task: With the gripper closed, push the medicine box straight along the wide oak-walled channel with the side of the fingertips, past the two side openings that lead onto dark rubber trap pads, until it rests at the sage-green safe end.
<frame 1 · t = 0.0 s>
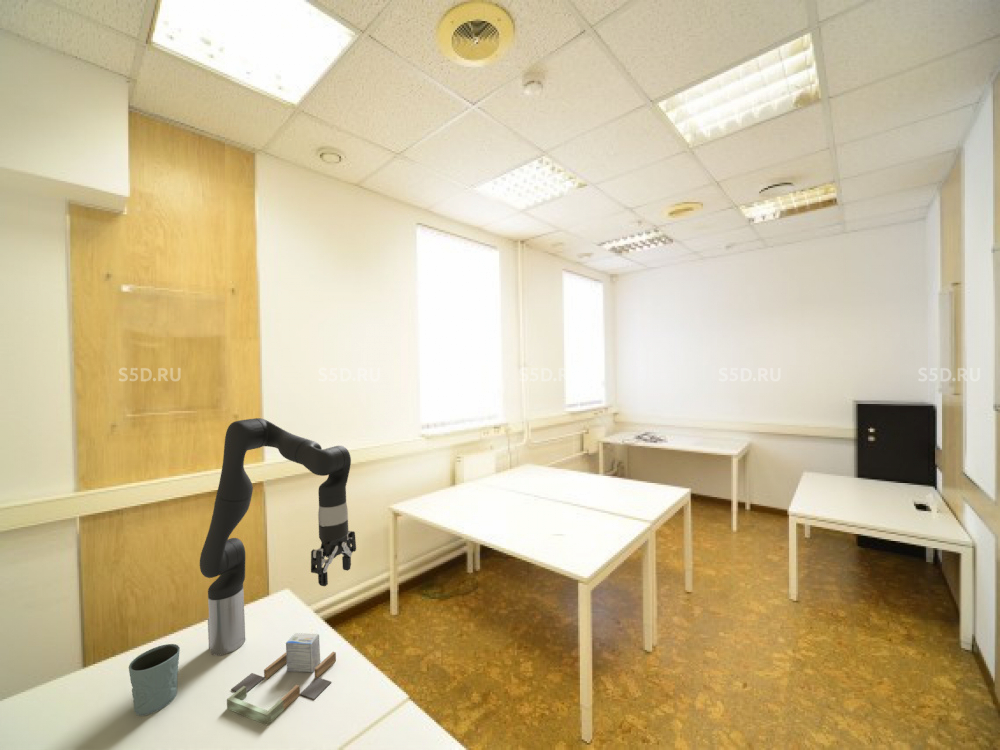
hand: (335, 577, 109), 29 cm above the table, fingers open, 8 cm apart
medicine box: (304, 667, 115), on the table
trap channel: (286, 682, 109), on the table
blue-grey vase: (156, 701, 104), on the table
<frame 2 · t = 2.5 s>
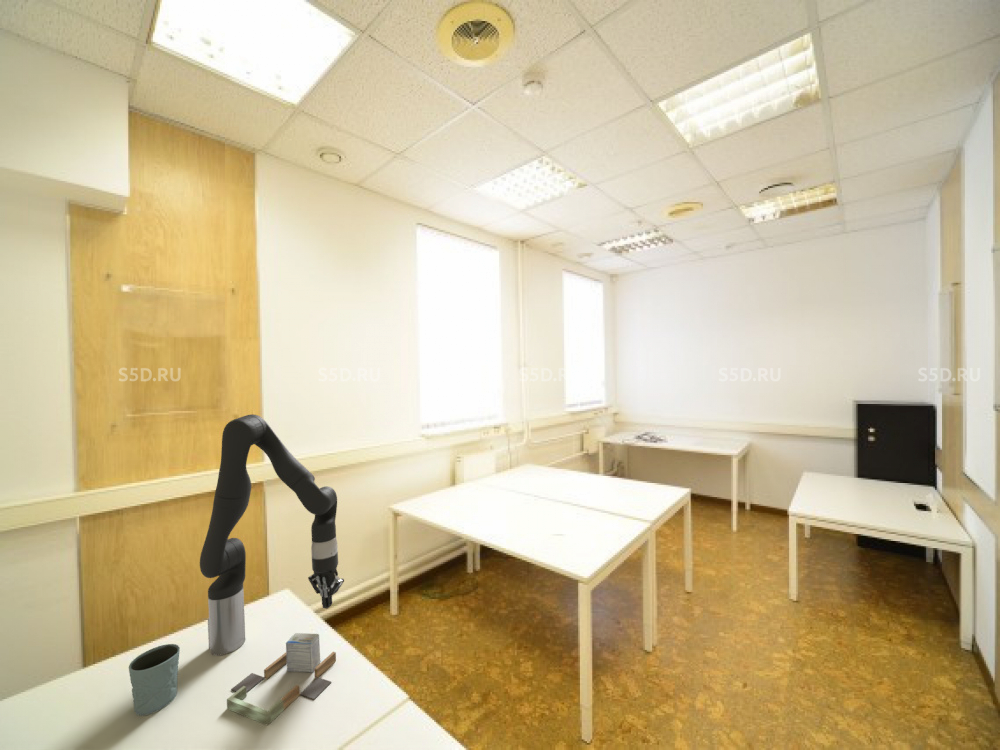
hand: (327, 606, 123), 12 cm above the table, fingers closed
nothing on the table moved.
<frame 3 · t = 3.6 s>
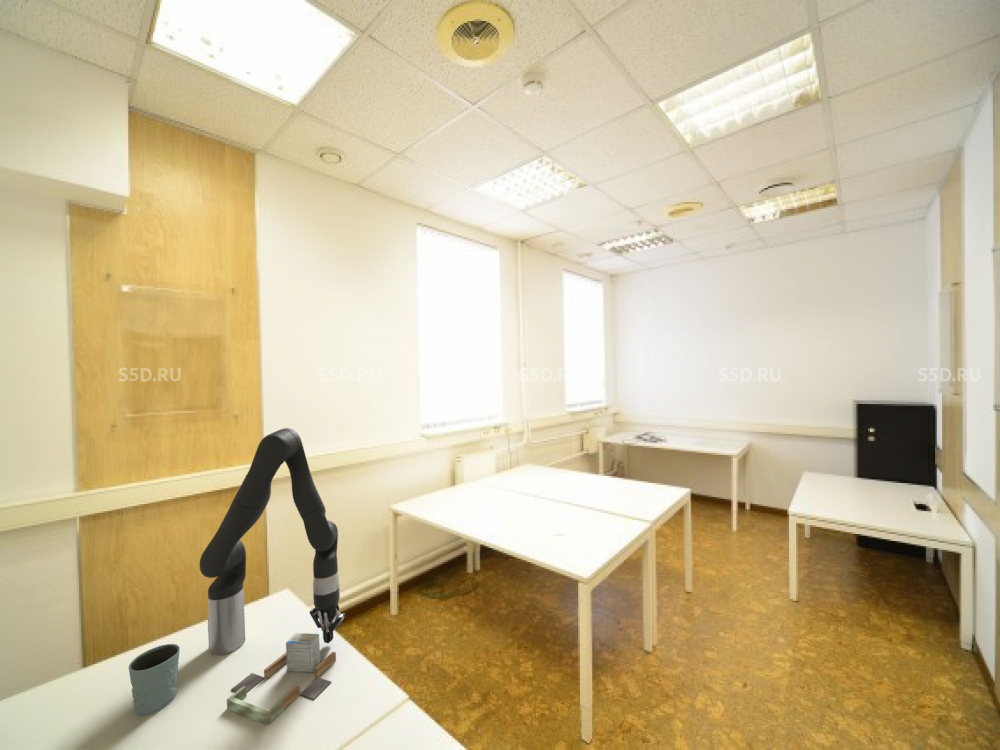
hand: (328, 641, 124), 1 cm above the table, fingers closed
nothing on the table moved.
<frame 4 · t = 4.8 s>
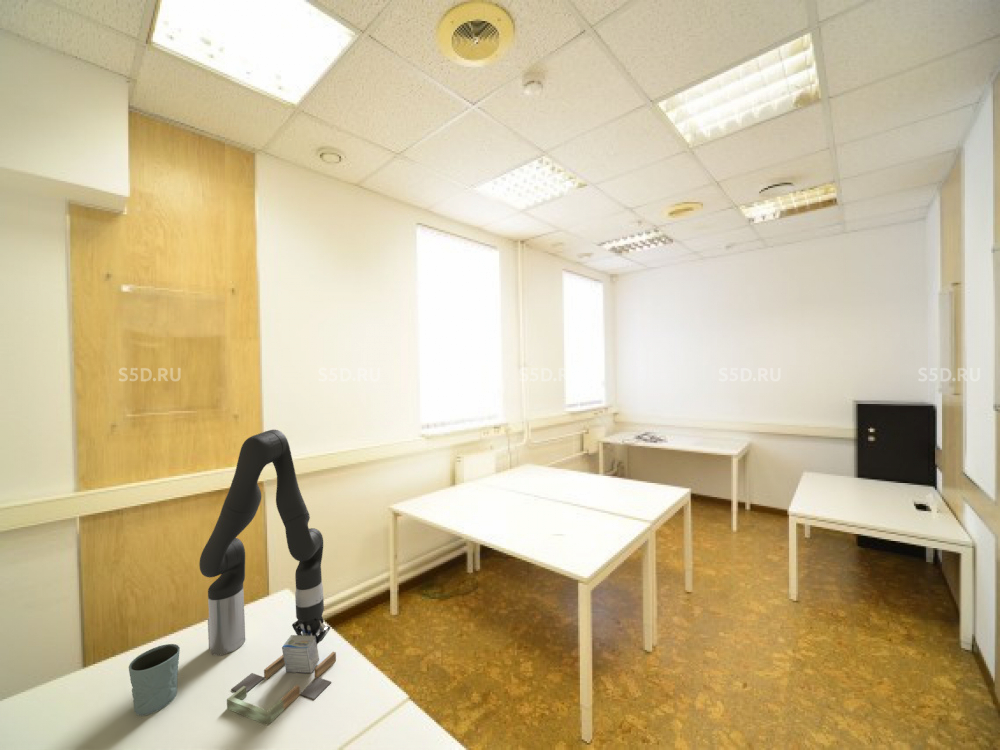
hand: (312, 655, 118), 1 cm above the table, fingers closed
medicine box: (303, 667, 115), on the table, touching gripper, hand
everything else where it was.
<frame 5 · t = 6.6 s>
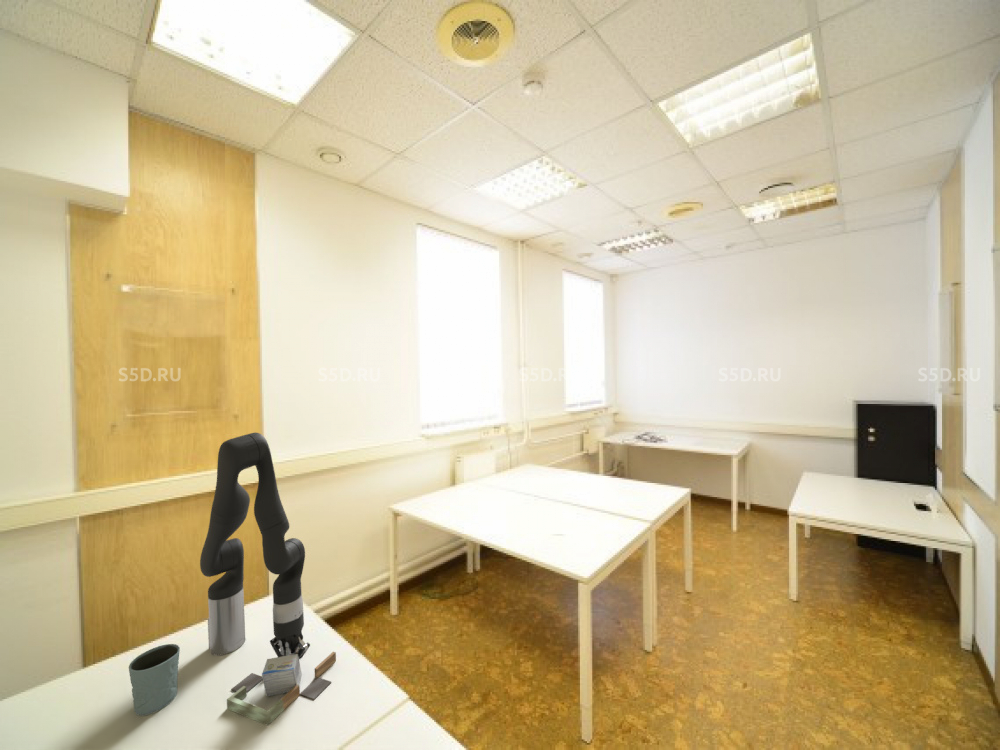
hand: (291, 674, 111), 1 cm above the table, fingers closed
medicine box: (284, 686, 107), on the table, touching gripper
everything else where it was.
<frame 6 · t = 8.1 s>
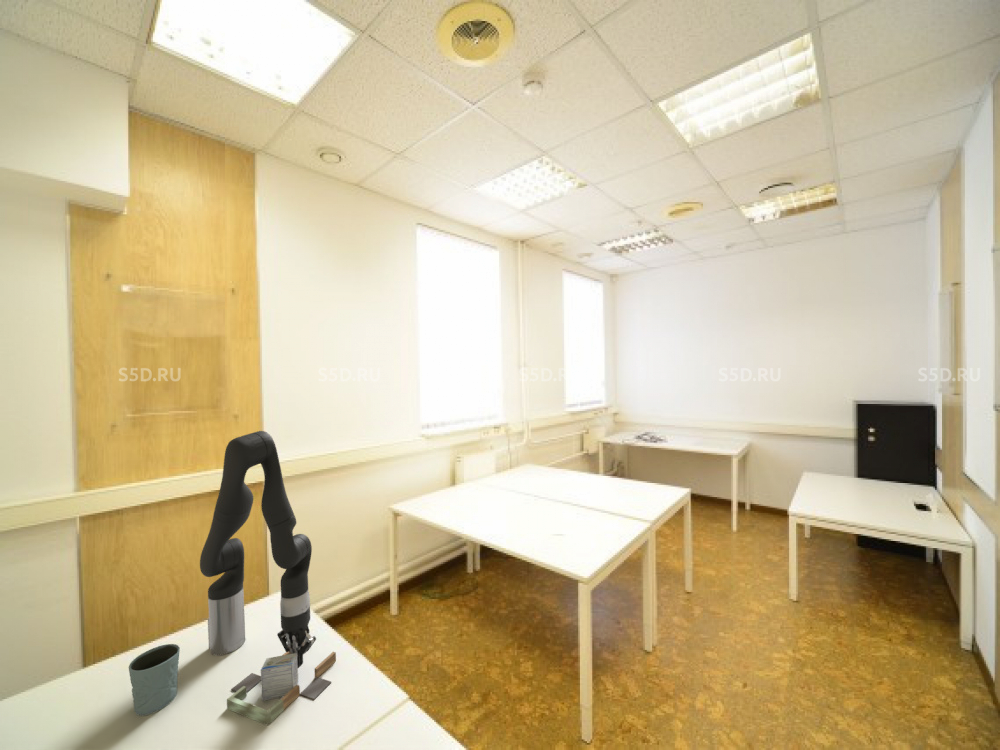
hand: (297, 666, 113), 2 cm above the table, fingers closed
medicine box: (280, 692, 106), on the table
everything else where it was.
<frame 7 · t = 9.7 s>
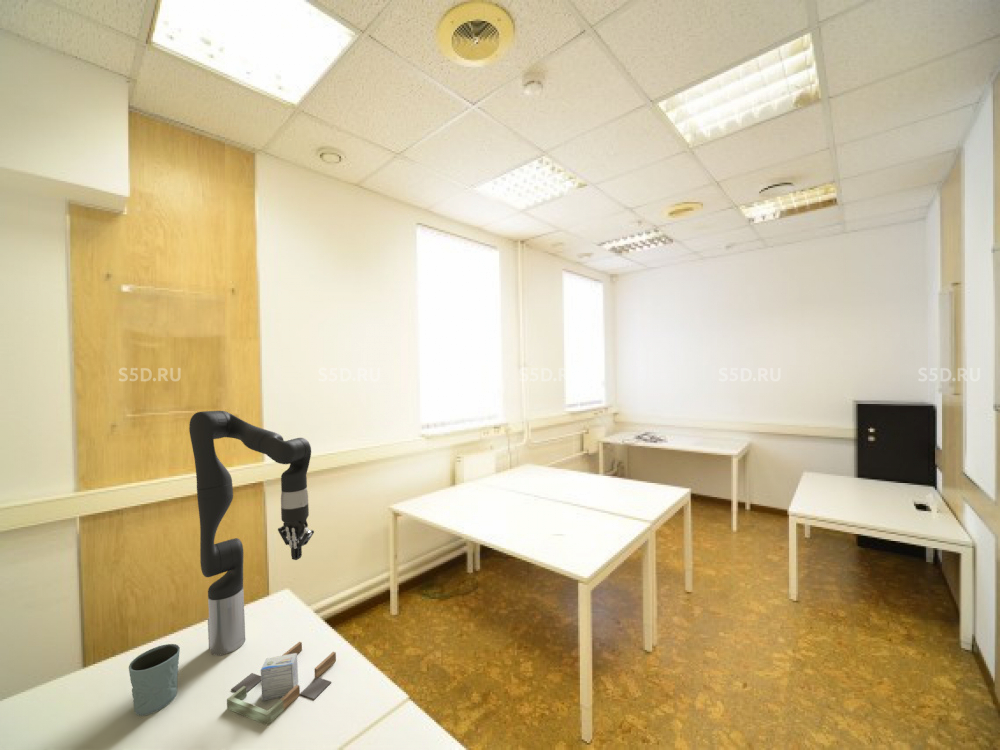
hand: (296, 558, 122), 29 cm above the table, fingers closed
nothing on the table moved.
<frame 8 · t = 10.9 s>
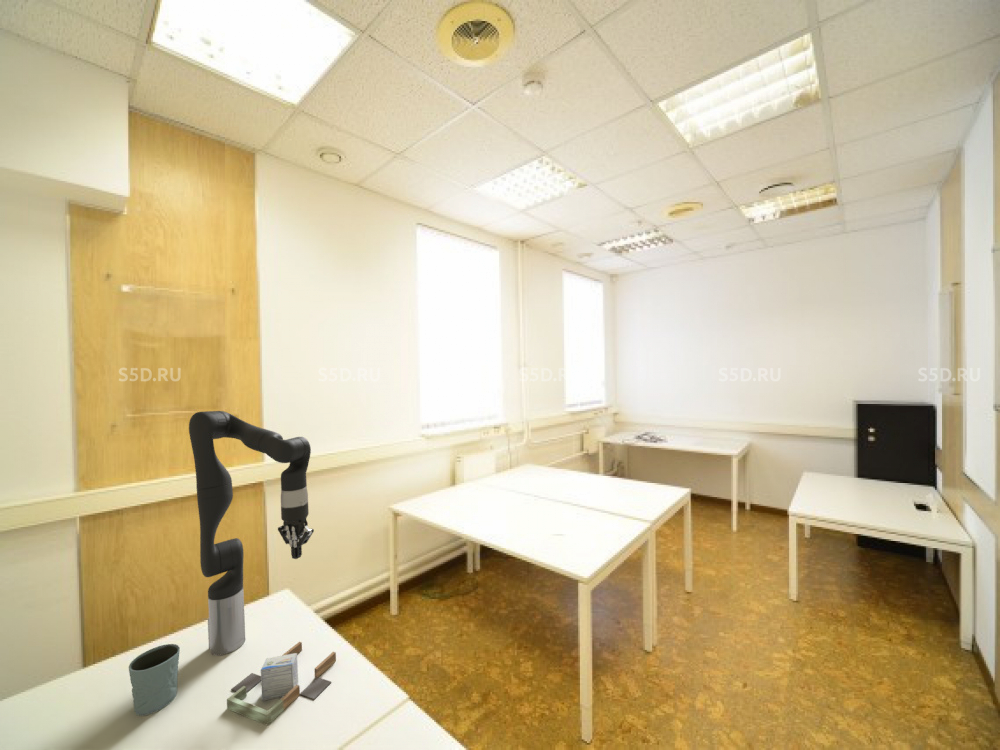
hand: (296, 557, 122), 29 cm above the table, fingers closed
nothing on the table moved.
at the end: medicine box inside the target area (2.5 cm from its centre), on the table; medicine box tilted 0° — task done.
